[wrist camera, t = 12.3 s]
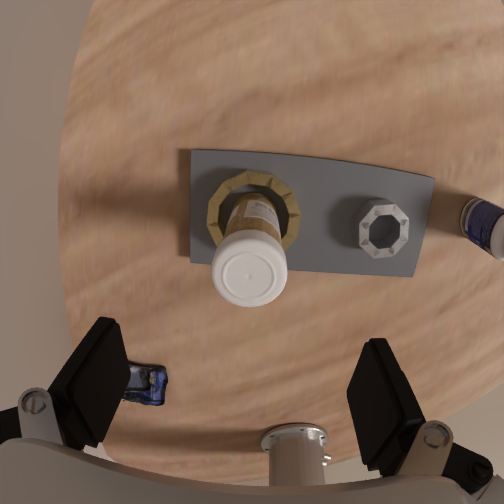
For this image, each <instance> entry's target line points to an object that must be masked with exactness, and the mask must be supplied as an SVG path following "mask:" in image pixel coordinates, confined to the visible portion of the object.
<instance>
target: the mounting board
mask: <svg viewBox="0 0 504 504" xmlns="http://www.w3.org/2000/svg"><path fill="white" fill-rule="evenodd" d="M247 169H252V170H259V171H266V172H272V173H273V174H275V175H276V176H277V177H278V178H280V179H281V180H282V181H284V182H285V183H286V184H287V185H289V186H290V187H291V189H292V191H293V194H294V196H295V199H296V202H297V204H298V207H299V210H300V212H301V218H300V224H299V229H298V234H297V238H296V239H295V240H294V241H293V243H292V244H291V245H290V246H289V247H288V248H287V249H286V250H285V252H284V253H285V257H286V262H287V270H295V271H311V272H327V273H343V274H360V275H378V276H397V277H413V275H414V272H415V268H416V264H417V261H418V257H419V253H420V250H421V246H422V242H423V238H424V233H425V229H426V225H427V220H428V215H429V210H430V205H431V200H432V195H433V189H434V183H435V178H432V177H429V176H425V175H420V174H415V173H411V172H406V171H401V170H395V169H390V168H385V167H379V166H373V165H367V164H361V163H354V162H348V161H341V160H333V159H326V158H317V157H309V156H299V155H289V154H278V153H266V152H251V151H233V150H205V149H194V150H191V168H190V263H198V264H211V265H212V261H213V257H214V254H215V252H216V249H217V246H216V244H215V242H214V240H213V238H212V236H211V234H210V232H209V229H208V227H207V214H208V203H209V200H210V199H211V198H212V196H213V195H214V194H215V192H216V191H217V190H218V188H219V187H220V186H221V184H222V183H223V182H224V180H225V179H226V178H228V177H230V176H232V175H235V174H237V173H240V172H242V171H245V170H247ZM248 193H261V194H263V195H266V196H267V197H269V198H270V199H271V200H272V201H273V203H274V204H275V206H276V209H277V218H278V223H279V229H280V231H281V229H282V228H283V227H284V226H285V222H286V216H287V211H288V209H287V206H286V204H285V201H284V199H283V198H282V197H281V196H280V195H279V194H277V193H276V192H275V191H273V190H272V189H271V188H270V187H268V186H262V185H255V184H246V185H244V186H241V187H239V188H236V189H234V190H231V191H230V192H229V194H228V195H227V196H226V197H225V199H224V200H223V201H222V211H221V218H222V220H223V222H224V224H225V227H226V228H227V224H228V222H229V219H230V216H231V214H232V209H233V206H234V204H235V203H236V202H237V200H238V199H239V198H240V197H242V196H243V195H245V194H248ZM385 198H386V199H388V200H389V201H391V202H393V203H394V204H396V205H397V206H398V207H399V208H400V210H401V211H402V212H403V213H404V214H405V215H406V216H407V217H408V218H409V230H408V241H407V242H406V243H405V244H404V245H403V246H402V247H401V249H400V250H399V251H398V252H397V253H396V254H395V255H394V256H392V257H384V258H375V259H374V258H373V257H371V256H370V255H369V254H368V253H367V252H366V251H365V250H364V249H363V248H362V247H360V246H359V245H358V243H357V242H356V241H355V240H354V238H353V237H352V216H353V215H354V213H355V212H356V211H357V210H358V209H359V208H360V207H361V205H362V204H363V203H364V202H365V201H366V200H371V199H385ZM390 229H391V216H390V215H379V216H378V217H377V218H376V219H375V220H374V221H373V222H372V224H371V225H370V226H369V240H378V239H383V237H384V236H385V235H386V234H387V233H388V232H389V231H390Z"/></svg>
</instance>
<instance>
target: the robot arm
mask: <svg viewBox="0 0 504 504" xmlns="http://www.w3.org/2000/svg"><path fill="white" fill-rule="evenodd" d="M130 379H131V370H130V366H129V363H128V359H127V355H126V351H125V347H124V343H123V338H122V334H121V330H120V326H119V324H118V323H116V321H115V319H113V318H107V317H102V316H101V317H99V318H98V320H97V321H96V322H95V323H94V325H93V326H92V327H91V329H90V330H89V331H88V333H87V334H86V336H85V337H84V338H83V340H82V341H81V342H80V344H79V345H78V346H77V348H76V349H75V351H74V352H73V354H72V355H71V356H70V358H69V359H68V361H67V362H66V364H65V365H64V366H63V368H62V369H61V371H60V372H59V374H58V375H57V377H56V378H55V380H54V381H53V382H52V384H51V385H50V387H49V389H48V390H47V391H46V390H44V389H42V388H38V387H36V388H31V389H28V390H26V391H25V392H23V393H22V395H21V396H20V398H19V400H18V406H17V407H14V408H10V409H7V410H3V411H0V504H504V480H503V479H502V478H501V477H500V476H498V475H496V476H494V475H493V467H492V464H491V462H490V461H489V460H488V459H487V458H485V457H484V456H481V455H479V454H477V453H475V452H473V451H470V450H468V449H466V448H464V447H462V446H460V445H458V444H456V443H454V442H453V433H452V431H451V429H450V428H449V427H448V426H447V425H446V424H444V423H443V422H440V421H437V420H431V421H428V422H426V420H425V418H424V415H423V413H422V411H421V409H420V406H419V404H418V402H417V400H416V397H415V395H414V393H413V391H412V389H411V386H410V384H409V382H408V380H407V378H406V376H405V374H404V372H403V371H402V370H401V368H400V366H399V364H398V362H397V360H396V358H395V356H394V354H393V352H392V350H391V348H390V346H389V344H388V342H387V340H386V339H385V338H371V339H370V340H369V342H366V343H365V344H364V347H363V349H362V352H361V355H360V358H359V360H358V363H357V366H356V368H355V371H354V373H353V376H352V378H351V381H350V383H349V386H348V388H347V399H348V403H349V407H350V411H351V415H352V419H353V423H354V428H355V432H356V436H357V440H358V445H359V449H360V453H361V458H362V462H363V464H364V465H367V468H368V471H373V470H379V471H380V475H381V476H380V478H377V479H371V480H364V481H356V482H348V483H338V484H327V485H325V477H324V469H323V467H325V466H326V464H327V461H328V460H330V459H331V455H329V454H326V453H324V448H323V447H324V446H325V445H326V443H327V441H328V437H327V433H326V431H325V430H324V429H323V428H321V427H319V426H316V425H312V424H289V425H283V426H280V427H277V428H274V429H272V430H270V431H268V432H267V433H266V434H264V435H263V437H262V439H261V448H262V449H263V450H264V451H265V452H266V453H268V454H269V486H245V485H231V484H221V483H212V482H204V481H197V480H190V479H184V478H178V477H173V476H167V475H162V474H158V473H153V472H149V471H144V470H140V469H136V468H133V467H129V466H125V465H122V464H118V463H115V462H112V461H108V460H105V459H102V458H99V457H95V456H92V455H89V454H87V453H84V451H83V449H84V447H85V445H88V446H91V447H94V448H97V445H98V443H99V442H100V443H101V442H103V440H104V438H105V435H106V433H107V431H108V428H109V426H110V424H111V421H112V419H113V417H114V415H115V412H116V410H117V408H118V406H119V403H120V401H121V399H122V397H123V394H124V392H125V390H126V388H127V386H128V383H129V381H130ZM326 460H327V461H326Z"/></svg>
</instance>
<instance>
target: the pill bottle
mask: <svg viewBox="0 0 504 504" xmlns="http://www.w3.org/2000/svg"><path fill="white" fill-rule="evenodd" d="M460 226H461V230H462V233H463V235H464V236H465V237H466V238H467V239H469V240H470V241H472V242H473V243H475V244H476V245H478V246H479V247H480V248H482V249H483V250H485V251H486V252H488V253H489V254H490V255H492V256H493V257H495V258H496V259H498V260H504V209H503V208H501V207H499V206H497V205H495V204H493V203H491V202H489V201H486V200H484V199H481V198H474V199H472V200H470V201H469V202H468V203H467V204H466V205H465V207H464V209H463V211H462V214H461V219H460Z"/></svg>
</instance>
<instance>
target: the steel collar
mask: <svg viewBox="0 0 504 504" xmlns="http://www.w3.org/2000/svg"><path fill="white" fill-rule="evenodd" d="M379 215H390V216H391V229H390V231H389V232H388V233H387V234H386V235H385V236H384V237H383V239H378V240H369V226H370V225H371V224H372V222H373V221H374V220H375V219H376V218H377V217H378V216H379ZM408 230H409V218H408V217H407V216H406V215H405V214H404V213H403V212H402V211H401V210H400V208H399V207H398V206H397V205H396V204H394V203H393V202H391V201H389V200H388V199H386V198H385V199H371V200H366V201H365V202H364V203H363V204H362V205H361V207H360V208H359V209H358V210H357V211H356V212H355V213H354V215H353V216H352V237H353V238H354V240H355V241H356V242H357V243H358V245H359V246H360V247H362V248H363V249H364V250H365V251H366V252H367V253H368V254H369V255H370V256H371V257H373V258H374V259H375V258H384V257H392V256H394V255H395V254H396V253H397V252H398V251H399V250H400V249H401V247H402V246H403V245H404V244H405V243H406V242H407V241H408Z"/></svg>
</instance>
